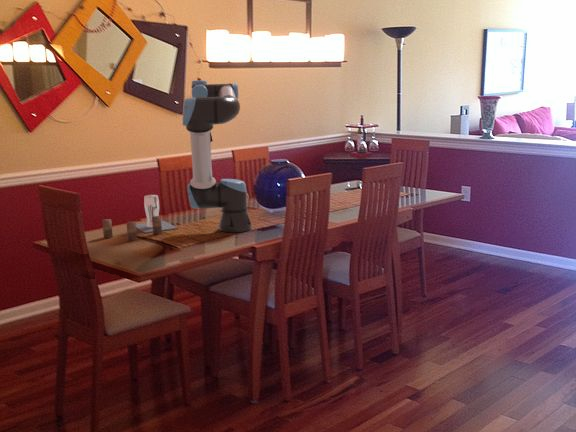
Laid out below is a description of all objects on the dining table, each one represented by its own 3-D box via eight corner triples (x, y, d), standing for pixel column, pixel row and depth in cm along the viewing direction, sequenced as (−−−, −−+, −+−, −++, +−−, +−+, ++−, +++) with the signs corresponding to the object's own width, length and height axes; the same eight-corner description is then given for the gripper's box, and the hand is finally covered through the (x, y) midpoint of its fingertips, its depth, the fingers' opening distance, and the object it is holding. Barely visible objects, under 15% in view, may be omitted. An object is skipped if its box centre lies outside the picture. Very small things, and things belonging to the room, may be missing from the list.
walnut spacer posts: (167, 236, 319) (165, 218, 317) (112, 243, 307) (110, 226, 305) (155, 229, 332) (154, 213, 331) (102, 237, 321) (101, 219, 319)
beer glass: (143, 228, 334) (140, 196, 332) (150, 224, 341) (148, 194, 338) (155, 228, 332) (153, 197, 329) (163, 225, 338) (161, 194, 336)
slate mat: (178, 228, 333) (177, 227, 333) (145, 233, 326) (145, 232, 325) (163, 221, 350) (163, 220, 350) (132, 226, 343) (132, 224, 343)
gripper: (217, 112, 339) (220, 156, 344) (198, 110, 361) (200, 152, 365) (203, 113, 336) (205, 157, 340) (184, 111, 357) (187, 153, 362)
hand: (203, 155), depth 353 cm, fingers open, 13 cm apart
